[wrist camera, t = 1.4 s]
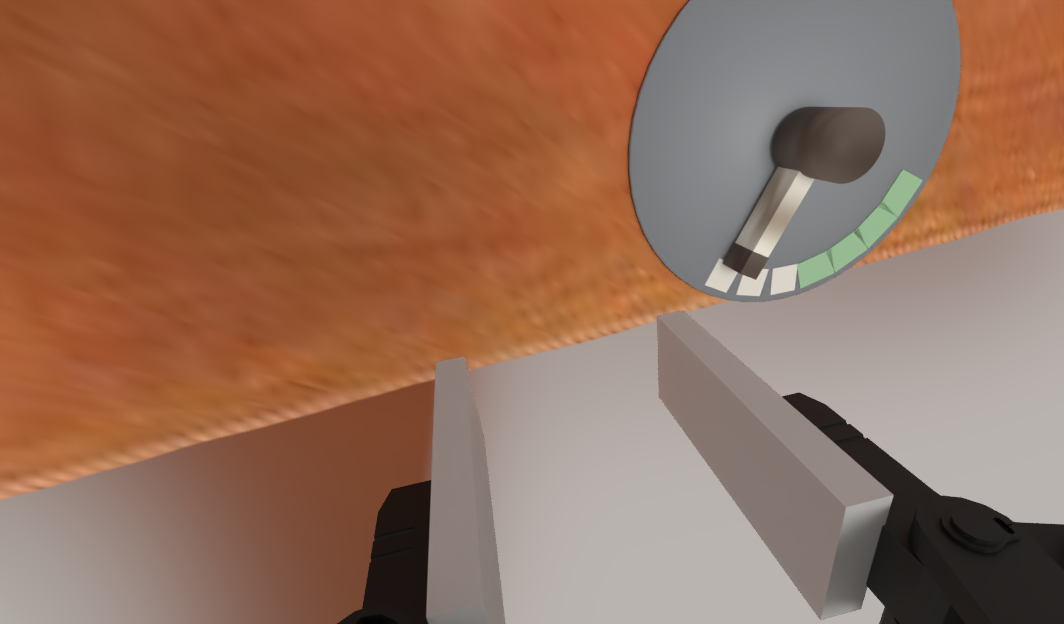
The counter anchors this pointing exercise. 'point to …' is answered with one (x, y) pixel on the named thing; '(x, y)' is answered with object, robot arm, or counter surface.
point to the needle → (806, 172)
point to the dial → (757, 112)
